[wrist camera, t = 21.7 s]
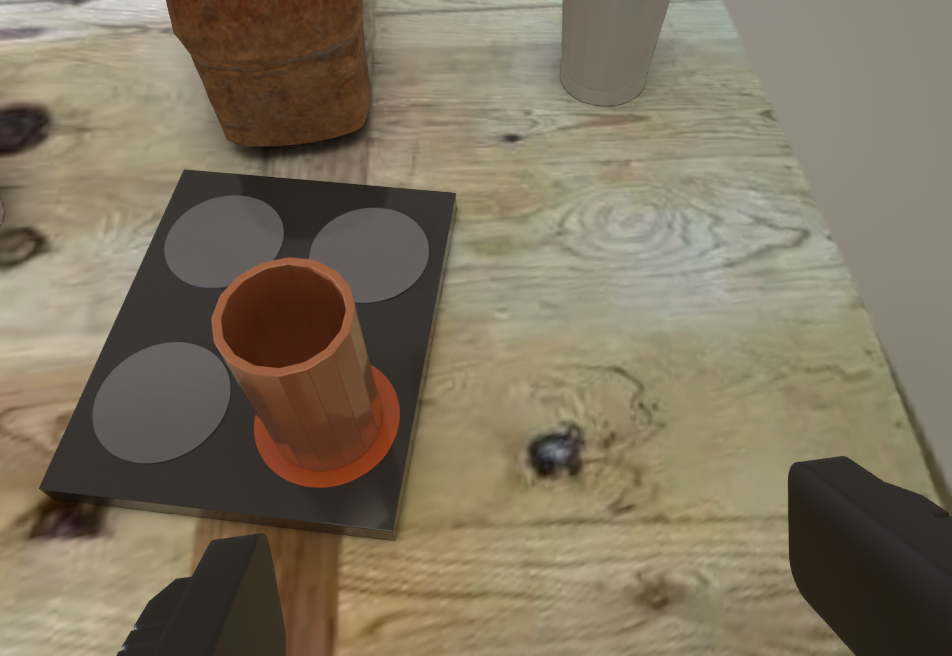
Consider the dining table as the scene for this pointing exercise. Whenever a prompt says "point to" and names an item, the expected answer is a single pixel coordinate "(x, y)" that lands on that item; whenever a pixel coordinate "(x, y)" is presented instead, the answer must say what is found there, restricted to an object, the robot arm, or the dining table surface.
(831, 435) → the dining table surface
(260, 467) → the stove
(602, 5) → the cup
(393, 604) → the dining table surface
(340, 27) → the bread
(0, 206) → the dixie cup
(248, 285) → the cup
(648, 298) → the dining table surface
